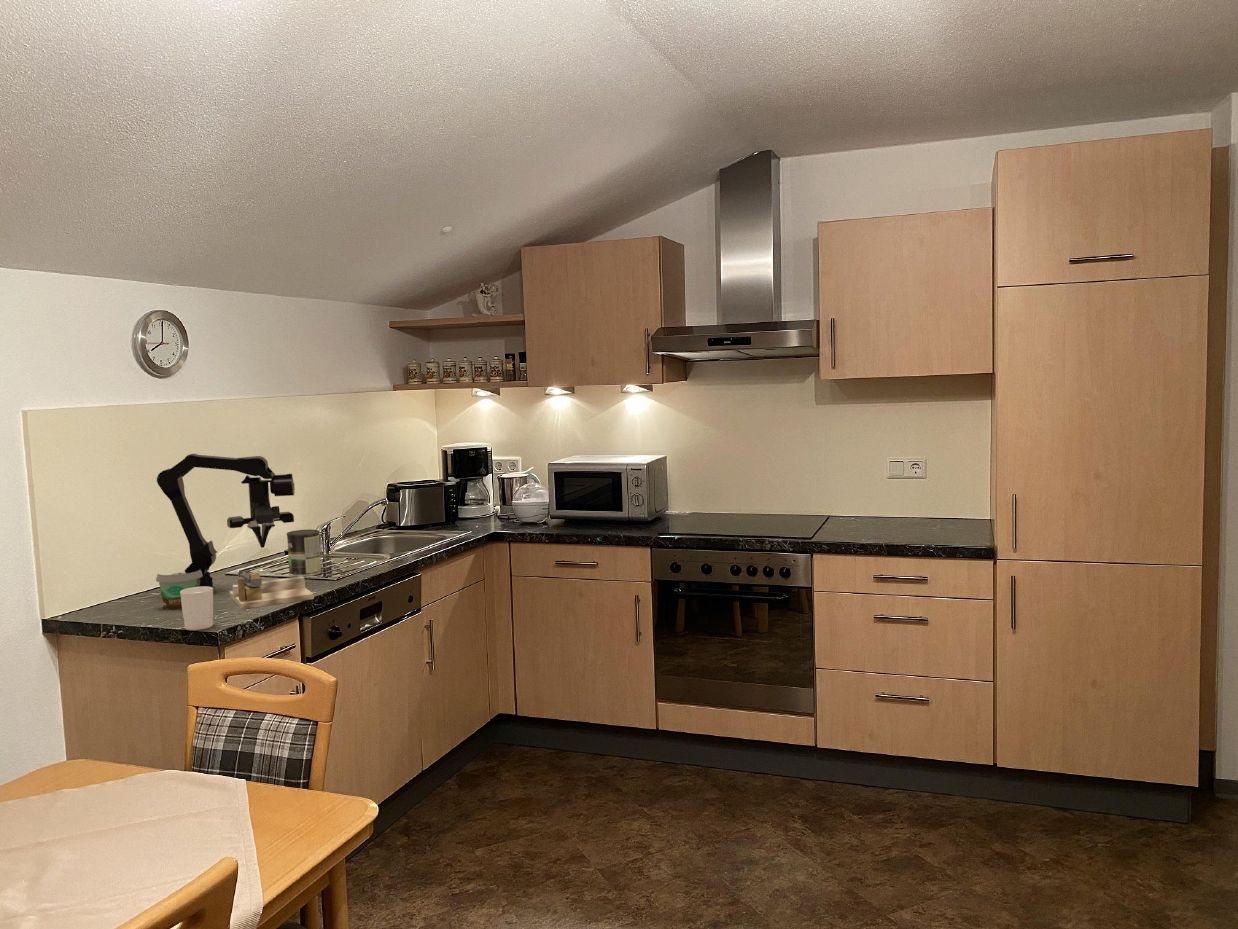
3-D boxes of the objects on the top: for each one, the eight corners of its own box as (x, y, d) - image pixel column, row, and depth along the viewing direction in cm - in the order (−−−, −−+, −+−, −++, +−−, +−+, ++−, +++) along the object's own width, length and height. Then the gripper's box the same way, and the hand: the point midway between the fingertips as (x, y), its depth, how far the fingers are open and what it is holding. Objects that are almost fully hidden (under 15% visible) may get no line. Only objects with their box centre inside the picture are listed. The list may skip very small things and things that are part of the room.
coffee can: (289, 578, 310) (287, 535, 309) (288, 572, 320) (286, 531, 319) (322, 575, 314) (320, 532, 313) (320, 569, 324) (318, 528, 322)
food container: (157, 612, 268) (154, 577, 267) (158, 607, 274) (155, 573, 273) (204, 606, 273) (202, 572, 272) (204, 602, 279) (202, 568, 278)
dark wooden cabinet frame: (238, 578, 284) (237, 567, 284) (249, 577, 286) (248, 565, 286) (250, 587, 272) (249, 575, 271) (262, 586, 273) (261, 574, 273)
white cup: (197, 622, 255) (194, 586, 254) (222, 624, 253) (219, 587, 252) (175, 630, 248) (173, 592, 247) (201, 631, 245) (198, 593, 244)
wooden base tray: (241, 609, 269) (239, 581, 268) (229, 596, 286) (227, 570, 285) (313, 599, 279) (312, 572, 278) (297, 587, 296) (296, 561, 295)
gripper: (231, 502, 281) (235, 555, 282) (296, 497, 290) (299, 547, 292) (225, 499, 290) (228, 549, 292) (288, 493, 300) (291, 542, 301)
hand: (262, 547), depth 294 cm, fingers closed
